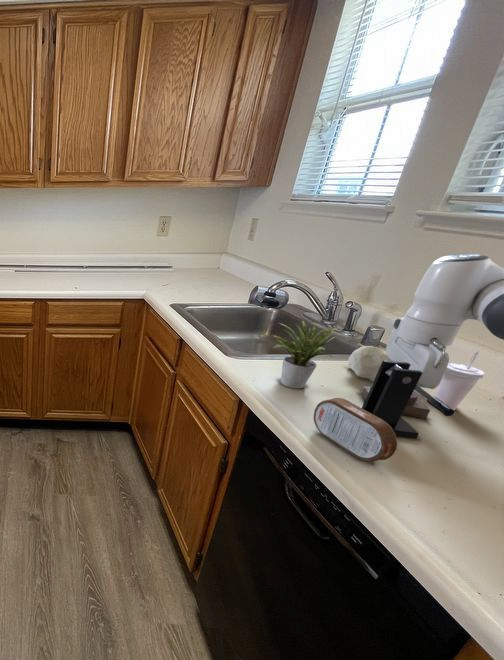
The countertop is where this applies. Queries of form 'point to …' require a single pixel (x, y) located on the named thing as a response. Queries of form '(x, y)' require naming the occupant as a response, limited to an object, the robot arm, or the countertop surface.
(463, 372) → the smoothie
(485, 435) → the countertop surface
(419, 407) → the button block
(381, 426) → the tin
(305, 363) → the house plant
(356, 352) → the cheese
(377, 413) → the bracket
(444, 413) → the lever
